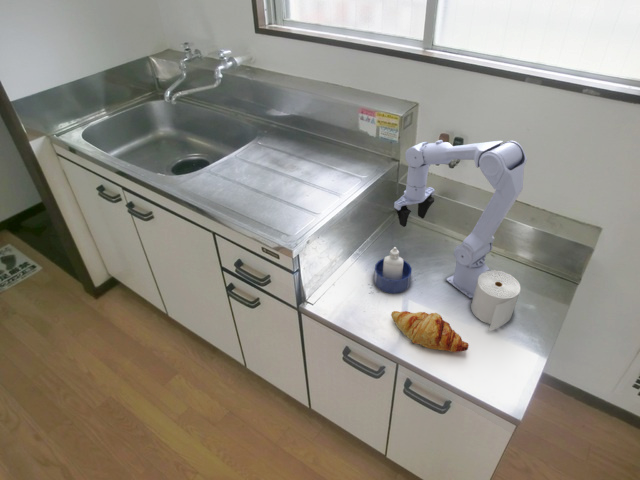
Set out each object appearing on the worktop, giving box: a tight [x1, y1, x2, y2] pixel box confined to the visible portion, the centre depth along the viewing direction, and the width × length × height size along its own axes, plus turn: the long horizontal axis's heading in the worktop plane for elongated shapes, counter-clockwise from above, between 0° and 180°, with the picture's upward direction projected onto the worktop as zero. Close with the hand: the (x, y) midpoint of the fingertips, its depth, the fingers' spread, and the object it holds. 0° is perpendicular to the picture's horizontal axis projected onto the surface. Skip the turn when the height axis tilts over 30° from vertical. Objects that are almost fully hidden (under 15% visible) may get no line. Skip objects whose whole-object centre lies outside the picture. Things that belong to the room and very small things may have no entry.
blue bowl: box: [373, 257, 413, 294], centre depth 133 cm, size 10×10×5 cm
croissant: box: [390, 310, 470, 353], centre depth 116 cm, size 21×10×8 cm, turn 55°
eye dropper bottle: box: [382, 246, 405, 280], centre depth 130 cm, size 4×6×12 cm
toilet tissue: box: [470, 269, 521, 332], centre depth 120 cm, size 11×12×10 cm
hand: (411, 221), depth 140 cm, fingers open, 7 cm apart
